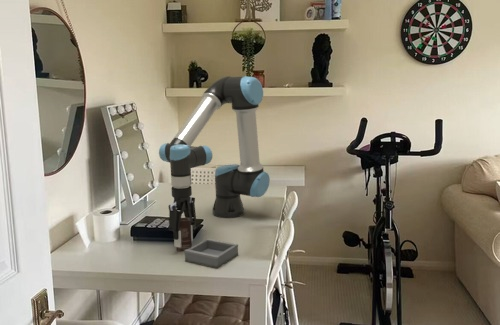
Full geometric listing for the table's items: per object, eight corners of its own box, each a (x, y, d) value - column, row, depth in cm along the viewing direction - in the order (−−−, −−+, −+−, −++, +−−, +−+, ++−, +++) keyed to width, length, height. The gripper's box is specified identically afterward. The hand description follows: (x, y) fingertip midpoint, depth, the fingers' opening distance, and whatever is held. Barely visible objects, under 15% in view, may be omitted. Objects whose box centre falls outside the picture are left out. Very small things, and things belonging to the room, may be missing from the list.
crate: (206, 248, 193) (206, 238, 192) (238, 255, 186) (238, 244, 185) (184, 261, 181) (184, 250, 180) (217, 268, 174) (217, 257, 173)
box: (191, 246, 196) (190, 216, 193) (191, 250, 191) (190, 220, 189) (176, 246, 195) (174, 217, 193) (175, 251, 191) (174, 221, 188)
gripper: (188, 179, 198) (190, 234, 203) (156, 190, 182) (159, 250, 186) (204, 181, 195) (206, 237, 199) (173, 193, 178) (175, 253, 183)
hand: (183, 243), depth 193 cm, fingers closed on box, 7 cm apart
